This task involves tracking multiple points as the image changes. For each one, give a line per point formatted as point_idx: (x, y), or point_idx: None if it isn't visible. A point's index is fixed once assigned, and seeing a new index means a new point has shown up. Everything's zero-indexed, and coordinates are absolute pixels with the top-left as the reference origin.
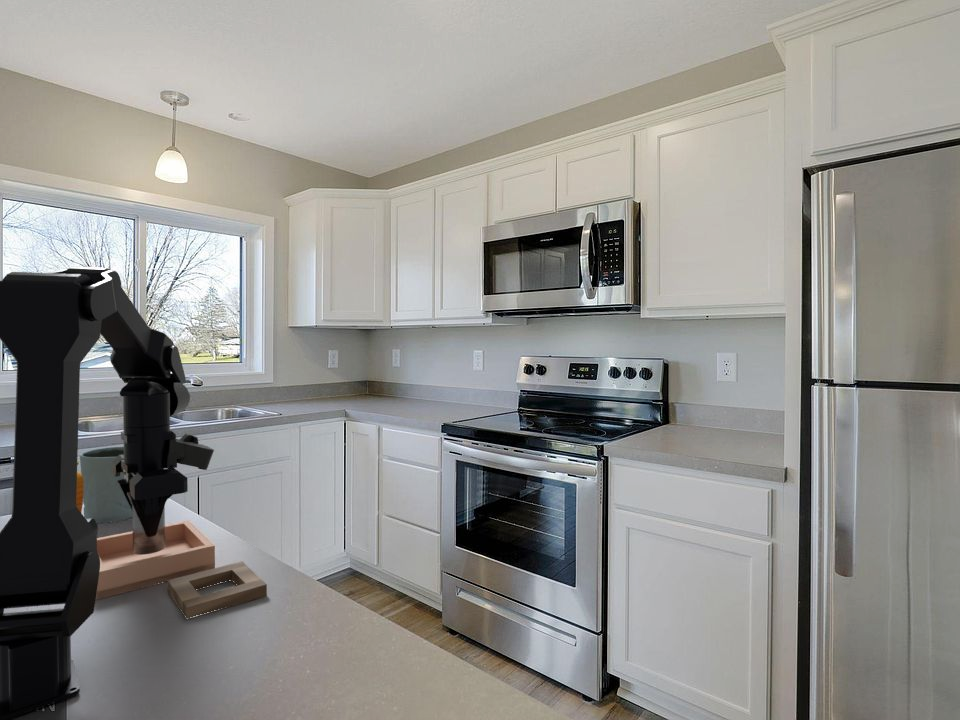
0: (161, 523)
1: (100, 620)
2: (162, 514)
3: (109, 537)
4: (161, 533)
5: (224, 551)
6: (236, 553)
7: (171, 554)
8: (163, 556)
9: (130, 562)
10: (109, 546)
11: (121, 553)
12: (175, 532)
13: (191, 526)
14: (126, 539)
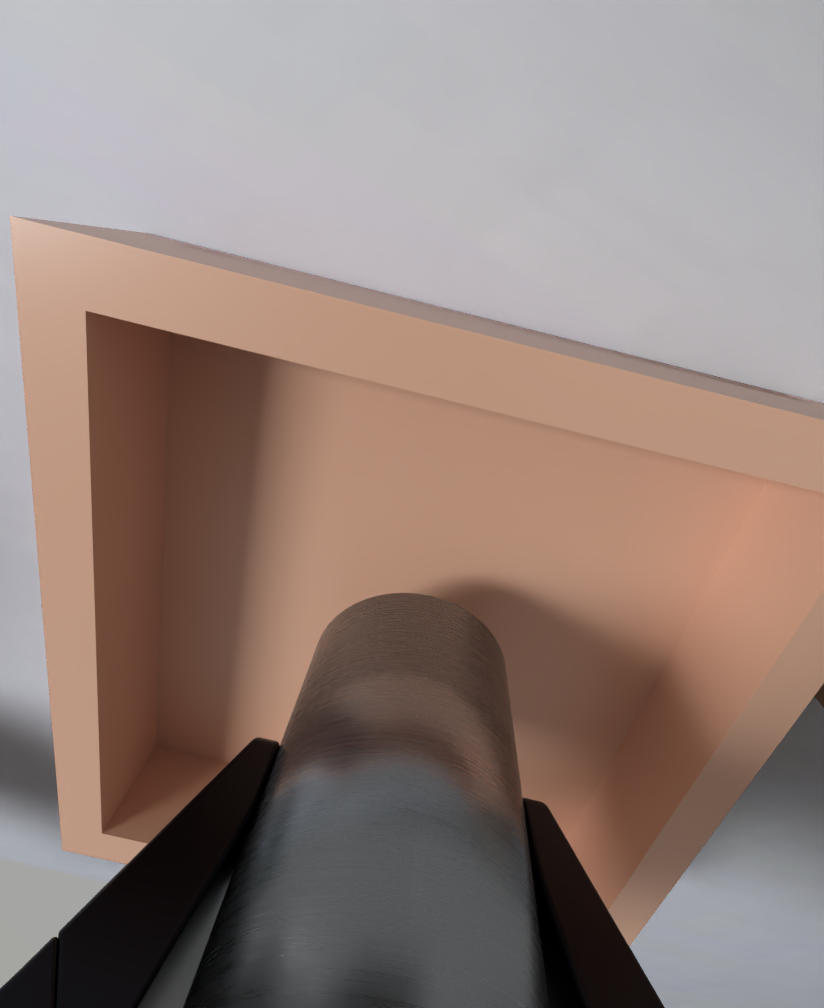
0: (522, 835)
1: (763, 882)
2: (525, 934)
3: (91, 771)
4: (507, 741)
5: (593, 149)
6: (733, 99)
7: (768, 727)
8: (745, 764)
9: (639, 873)
10: (132, 728)
11: (184, 656)
12: (134, 376)
13: (251, 309)
14: (119, 678)
